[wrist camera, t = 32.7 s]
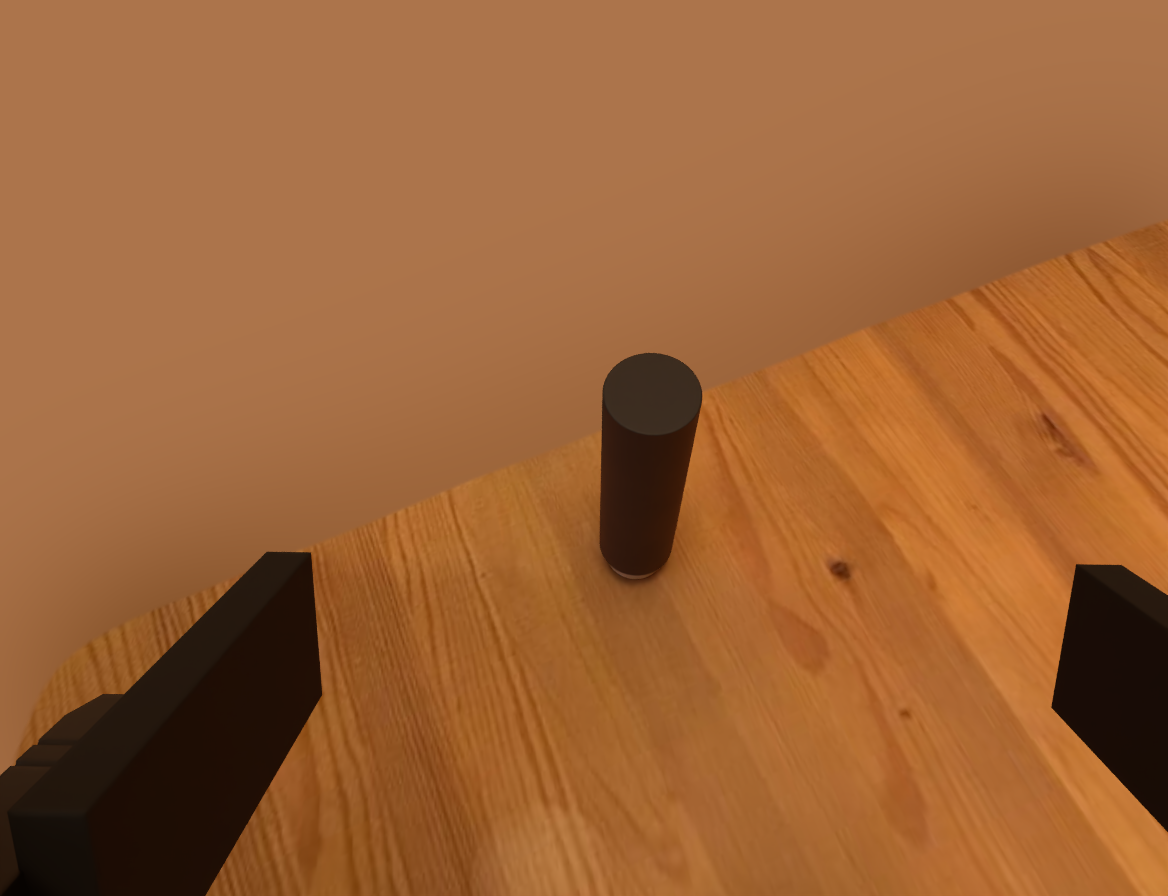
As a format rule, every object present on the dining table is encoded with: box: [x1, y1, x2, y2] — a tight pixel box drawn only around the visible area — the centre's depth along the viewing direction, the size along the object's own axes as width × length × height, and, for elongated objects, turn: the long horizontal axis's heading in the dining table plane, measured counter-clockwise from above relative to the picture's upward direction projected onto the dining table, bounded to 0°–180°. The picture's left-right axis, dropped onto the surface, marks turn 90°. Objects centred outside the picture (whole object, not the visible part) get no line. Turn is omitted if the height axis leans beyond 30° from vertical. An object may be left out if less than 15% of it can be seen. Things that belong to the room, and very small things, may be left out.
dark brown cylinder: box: [600, 353, 702, 579], centre depth 33 cm, size 3×3×13 cm
